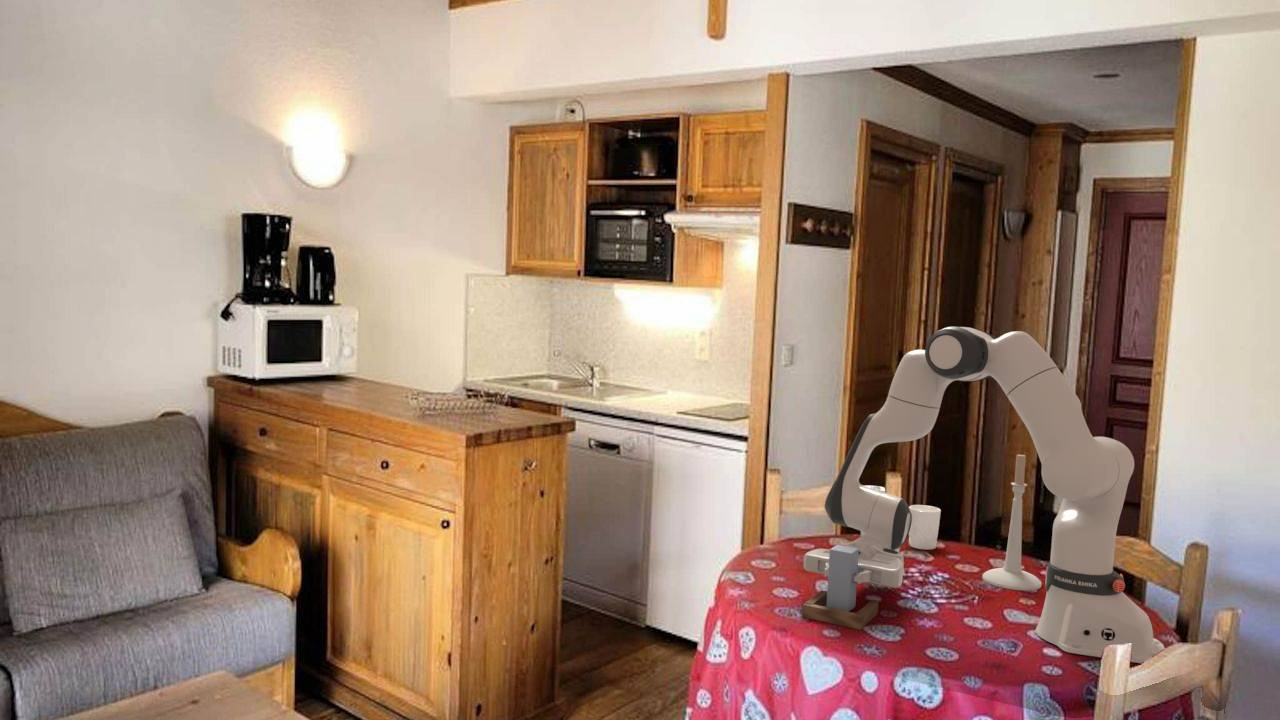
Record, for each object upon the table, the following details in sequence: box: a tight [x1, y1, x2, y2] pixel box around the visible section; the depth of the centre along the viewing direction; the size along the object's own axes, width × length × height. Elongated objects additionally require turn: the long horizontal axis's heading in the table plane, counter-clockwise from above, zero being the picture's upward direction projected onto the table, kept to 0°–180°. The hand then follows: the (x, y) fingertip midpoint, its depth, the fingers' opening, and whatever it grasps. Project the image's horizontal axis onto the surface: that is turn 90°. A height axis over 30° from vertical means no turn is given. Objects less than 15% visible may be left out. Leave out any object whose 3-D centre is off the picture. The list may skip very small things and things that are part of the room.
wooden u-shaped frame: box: [801, 589, 879, 631], centre depth 198 cm, size 12×11×2 cm
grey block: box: [825, 544, 859, 612], centre depth 198 cm, size 4×4×12 cm
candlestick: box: [981, 453, 1043, 592], centre depth 225 cm, size 13×13×30 cm
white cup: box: [908, 504, 942, 551], centre depth 254 cm, size 8×8×10 cm
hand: (841, 576), depth 197 cm, fingers closed on grey block, 4 cm apart
